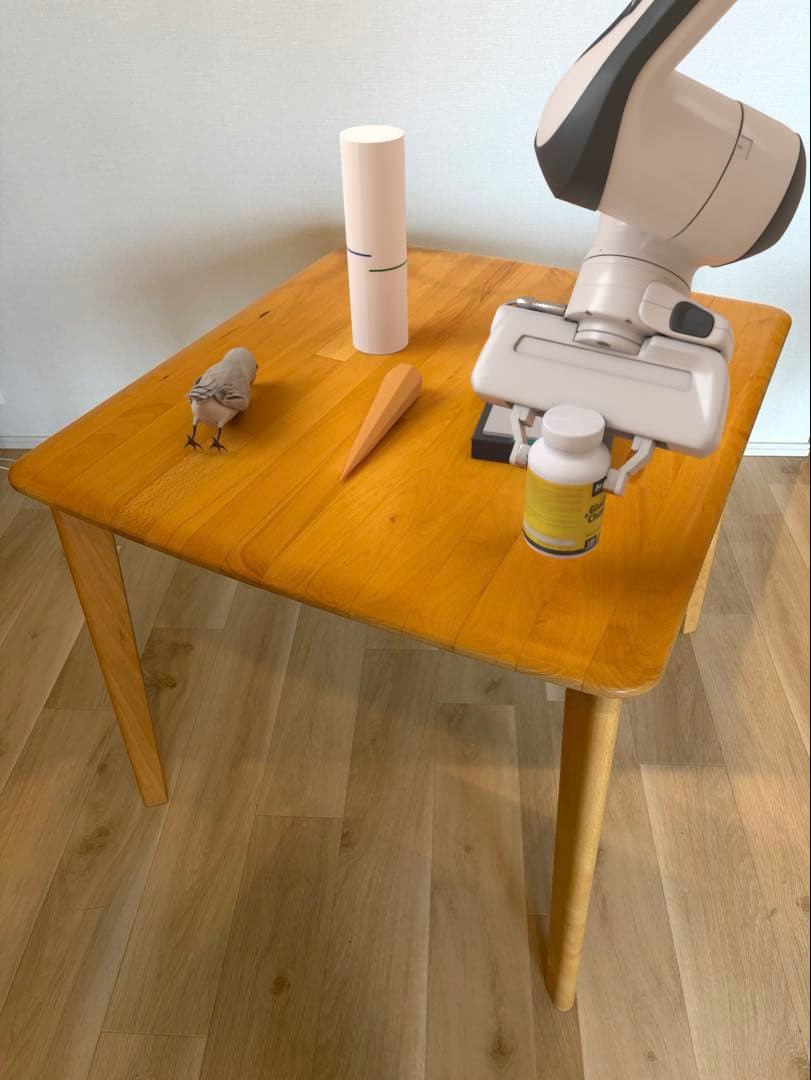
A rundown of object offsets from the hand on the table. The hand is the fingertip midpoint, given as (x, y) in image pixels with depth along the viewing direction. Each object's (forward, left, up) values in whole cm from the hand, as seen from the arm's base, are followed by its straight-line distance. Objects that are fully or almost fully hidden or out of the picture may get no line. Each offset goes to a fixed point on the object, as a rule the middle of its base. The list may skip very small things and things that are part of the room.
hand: (564, 480), depth 68 cm
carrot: (+22, -19, -11) cm, 31 cm away
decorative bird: (+39, -18, -11) cm, 44 cm away
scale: (+4, -24, -11) cm, 26 cm away
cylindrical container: (+28, -40, -11) cm, 50 cm away
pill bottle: (0, -1, -7) cm, 7 cm away
